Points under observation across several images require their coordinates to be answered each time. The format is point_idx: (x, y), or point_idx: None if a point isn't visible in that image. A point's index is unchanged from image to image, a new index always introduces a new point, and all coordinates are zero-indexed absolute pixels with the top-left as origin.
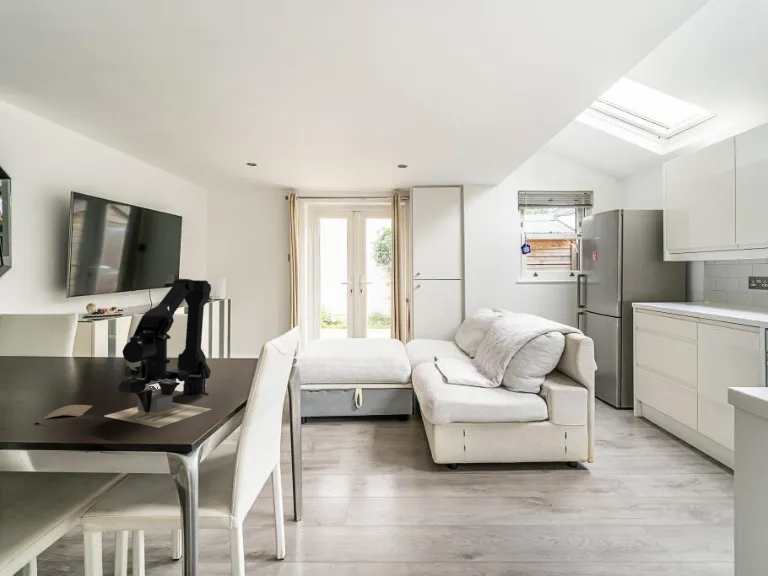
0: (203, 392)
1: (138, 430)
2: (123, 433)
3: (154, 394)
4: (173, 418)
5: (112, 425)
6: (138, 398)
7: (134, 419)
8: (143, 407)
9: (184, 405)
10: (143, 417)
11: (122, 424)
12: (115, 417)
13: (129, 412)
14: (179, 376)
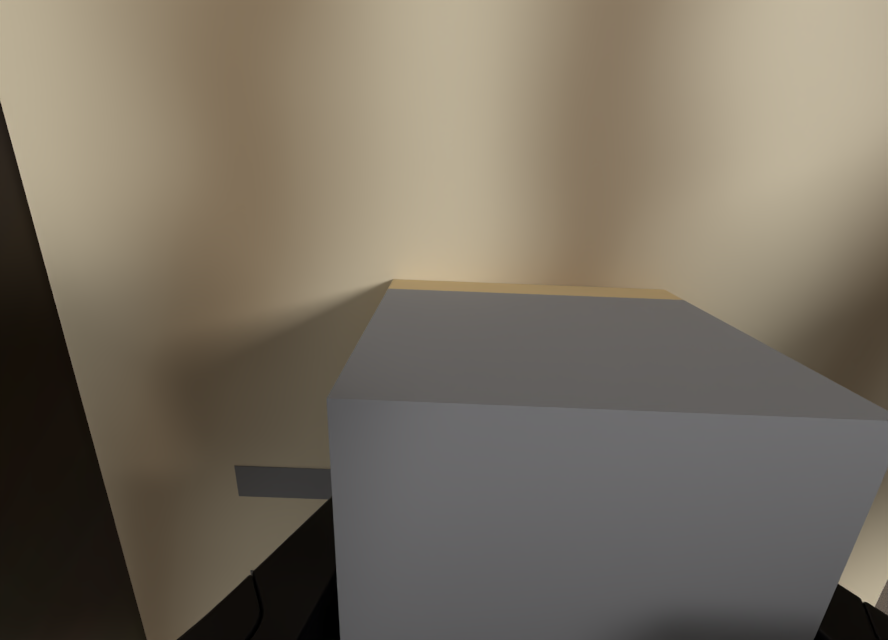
0: None
1: (138, 619)
2: (19, 580)
3: (702, 595)
4: None
5: (35, 299)
6: (345, 390)
7: (182, 496)
8: (329, 508)
9: (862, 561)
10: (283, 522)
11: None
12: (63, 210)
13: (325, 165)
14: None
